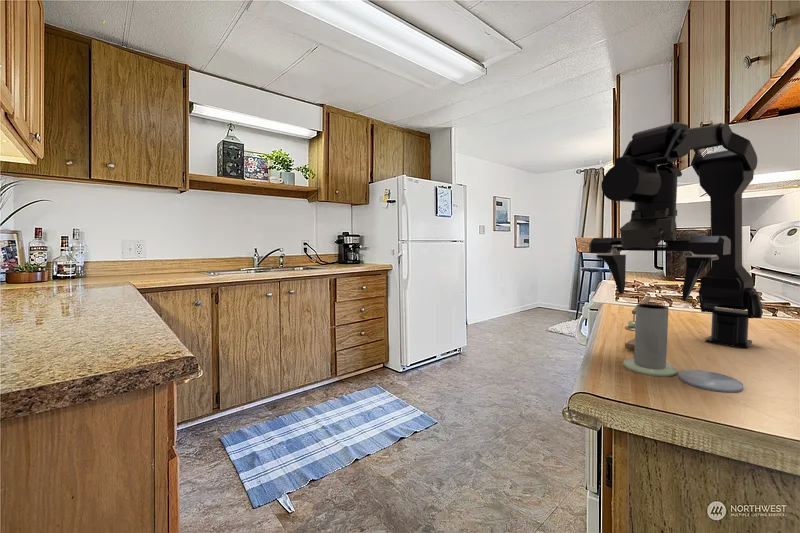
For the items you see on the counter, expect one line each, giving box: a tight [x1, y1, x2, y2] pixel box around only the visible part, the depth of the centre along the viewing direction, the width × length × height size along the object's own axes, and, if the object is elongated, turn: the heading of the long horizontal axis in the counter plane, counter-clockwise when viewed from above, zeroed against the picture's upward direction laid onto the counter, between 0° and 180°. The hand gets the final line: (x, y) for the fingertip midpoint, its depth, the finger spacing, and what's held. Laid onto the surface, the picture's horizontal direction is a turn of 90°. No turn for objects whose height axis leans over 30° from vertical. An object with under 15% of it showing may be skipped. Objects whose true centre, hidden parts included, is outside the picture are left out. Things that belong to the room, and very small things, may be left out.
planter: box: [633, 303, 670, 369], centre depth 62 cm, size 4×4×10 cm
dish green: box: [623, 357, 678, 378], centre depth 62 cm, size 8×8×1 cm
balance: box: [624, 295, 652, 351], centre depth 74 cm, size 11×4×10 cm, turn 128°
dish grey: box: [677, 369, 744, 394], centre depth 56 cm, size 8×8×1 cm
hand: (651, 296), depth 61 cm, fingers open, 9 cm apart
